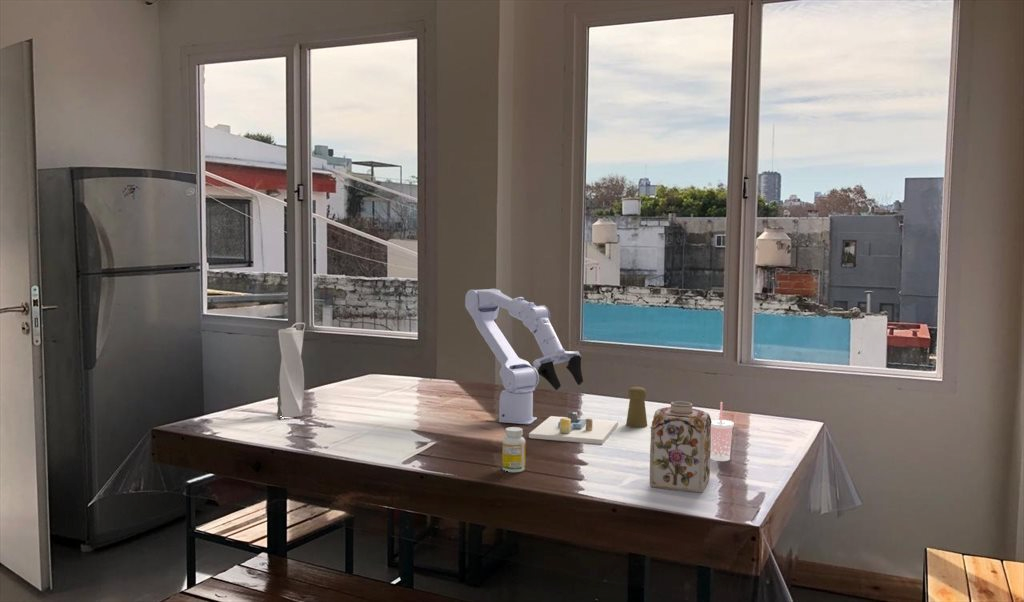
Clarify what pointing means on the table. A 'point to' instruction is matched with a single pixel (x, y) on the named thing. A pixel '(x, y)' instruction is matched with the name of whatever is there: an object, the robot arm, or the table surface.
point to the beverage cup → (721, 438)
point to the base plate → (574, 431)
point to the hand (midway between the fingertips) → (569, 385)
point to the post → (572, 416)
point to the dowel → (589, 424)
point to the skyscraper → (291, 373)
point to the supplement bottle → (513, 450)
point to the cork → (637, 408)
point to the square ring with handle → (570, 424)
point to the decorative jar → (680, 448)
